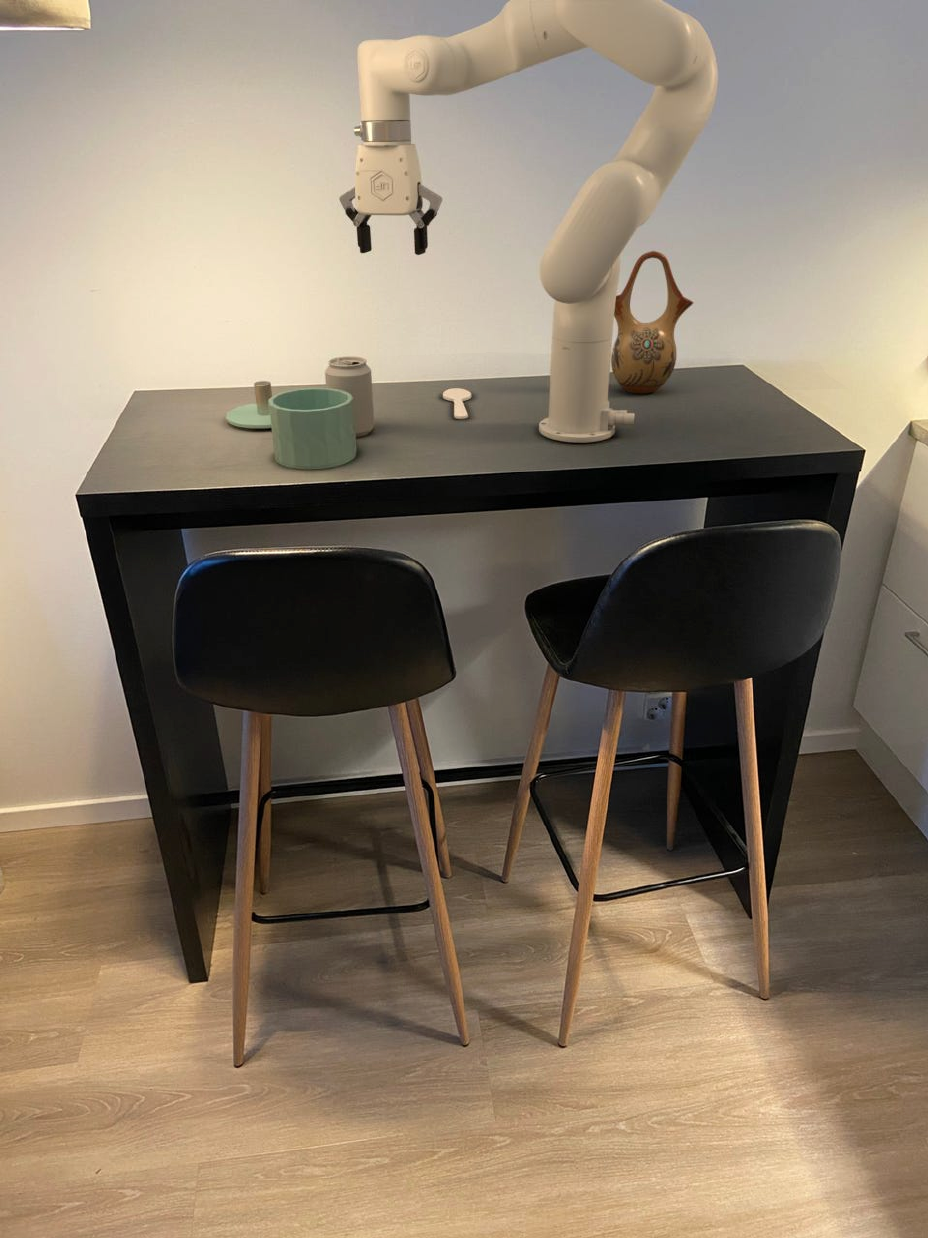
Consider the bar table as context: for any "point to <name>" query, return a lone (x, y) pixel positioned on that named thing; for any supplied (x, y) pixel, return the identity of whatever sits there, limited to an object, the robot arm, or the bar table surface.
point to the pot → (313, 428)
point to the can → (354, 388)
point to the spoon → (458, 401)
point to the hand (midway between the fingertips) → (392, 252)
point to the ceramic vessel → (646, 336)
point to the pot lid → (253, 409)
